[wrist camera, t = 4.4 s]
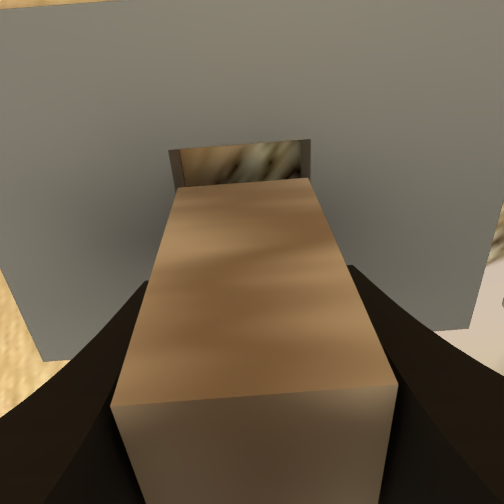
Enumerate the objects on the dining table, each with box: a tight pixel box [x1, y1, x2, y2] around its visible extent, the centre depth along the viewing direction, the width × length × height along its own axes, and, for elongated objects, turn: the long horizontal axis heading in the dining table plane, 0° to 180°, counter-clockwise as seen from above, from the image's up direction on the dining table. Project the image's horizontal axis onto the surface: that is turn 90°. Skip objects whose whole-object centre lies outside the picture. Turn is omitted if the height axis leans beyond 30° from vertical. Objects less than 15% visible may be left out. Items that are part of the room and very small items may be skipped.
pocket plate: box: [0, 0, 504, 362], centre depth 17 cm, size 20×14×2 cm
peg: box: [110, 178, 398, 504], centre depth 10 cm, size 4×4×8 cm
